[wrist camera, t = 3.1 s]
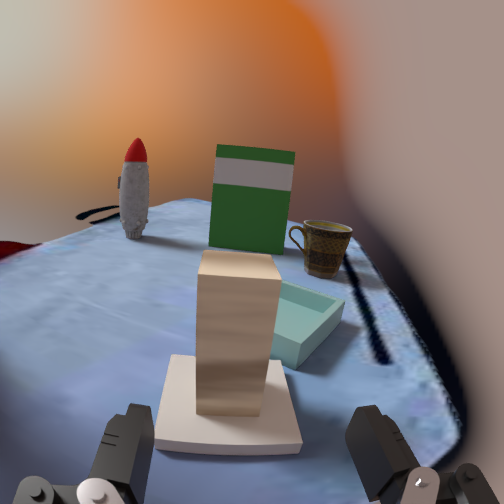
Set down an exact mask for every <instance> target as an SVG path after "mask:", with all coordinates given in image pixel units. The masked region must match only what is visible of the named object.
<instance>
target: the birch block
mask: <svg viewBox="0 0 504 504" xmlns="http://www.w3.org/2000/svg"><path fill="white" fill-rule="evenodd" d="M281 283H282V279H281V276H280V274H279V272H278V270H277V268H276V266H275V263H274V261H273V259H272V257H271V255H268V254H254V253H241V252H228V251H214V250H204V251H203V255H202V259H201V263H200V267H199V272H198V284H197V313H196V414H198V415H213V416H237V417H259V415H260V410H261V404H262V399H263V393H264V388H265V382H266V376H267V371H268V365H269V359H270V353H271V347H272V341H273V335H274V329H275V322H276V316H277V310H278V303H279V296H280V290H281Z"/></svg>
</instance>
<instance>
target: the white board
mask: <svg viewBox="0 0 504 504" xmlns="http://www.w3.org/2000/svg"><path fill="white" fill-rule="evenodd" d="M154 432H155V440H154V445H155V449H159V450H167V451H175V452H185V453H197V454H213V455H280V454H296V453H299V451H300V449H301V446H302V444H303V441H302V438H301V434H300V430H299V427H298V423H297V419H296V416H295V412H294V408H293V404H292V401H291V397H290V393H289V390H288V386H287V382H286V379H285V375H284V371H283V368H282V364H281V360H269V365H268V371H267V376H266V382H265V388H264V393H263V399H262V404H261V410H260V415H259V417H237V416H213V415H198V414H196V356H186V355H175V354H172V355H171V359H170V363H169V367H168V371H167V376H166V380H165V384H164V389H163V393H162V398H161V402H160V407H159V412H158V416H157V421H156V426H155V431H154Z"/></svg>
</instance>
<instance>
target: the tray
mask: <svg viewBox="0 0 504 504" xmlns="http://www.w3.org/2000/svg"><path fill="white" fill-rule="evenodd" d="M344 304H345V300H342V299H339V298H336V297H333V296H330V295H327V294H324V293H320V292H317V291H314V290H311V289H308V288H305V287H302V286H299V285H296V284H293V283H290V282H287V281H284V280H282V283H281V290H280V296H279V303H278V310H277V316H276V322H275V329H274V335H273V341H272V347H271V353H270V359H271V360H281V364H282V365H284V366H286V367H288V368H291V369H293V370H296V369H297V368H298V367H299V366H300V365H301V364H302V363H303V362H304V361H305V360H306V359H307V358H308V357H309V355H310V354H311V353H312V352H313V351H314V350H315V349H316V348H317V347H318V346H319V345H320V344H321V343H322V342H323V341H324V340H325V339H326V337H327V336H328V335H329V334H330V333H331V332H332V331H333V330H334V329H335V328H336V326H337V325H338V324H339V323H340V321H341V317H342V313H343V309H344Z"/></svg>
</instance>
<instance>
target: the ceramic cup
mask: <svg viewBox="0 0 504 504" xmlns="http://www.w3.org/2000/svg"><path fill="white" fill-rule="evenodd" d="M293 229H299V230H300V231H301V232H302V234H303V236H304V249H302V248H301V247H300V245H299V244H298V243H297V242H296V241H295V240H294V239H293V238H292V237H291V231H292V230H293ZM352 231H353V230H352V229H351V228H350V227H347V226H345V225H342V224H338V223H333V222H327V221H319V220H307V221H304V226H303V228H302V227H300V226H293V227H291V228H290V230H289V237H290V239H291V240H292V241H293V242H294V243H295V244H296V245H297V246H298V247H299V249H300V250H301V251H302V252H303V254H304V269H305V271H306V272H307V274H309V275H312V276H315V277H318V278H333V277H334V276H336V275H337V273H338V270H339V267H340V265H341V262H342V259H343V257H344V254H345V251H346V249H347V246H348V244H349V241H350V238H351V235H352Z"/></svg>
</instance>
